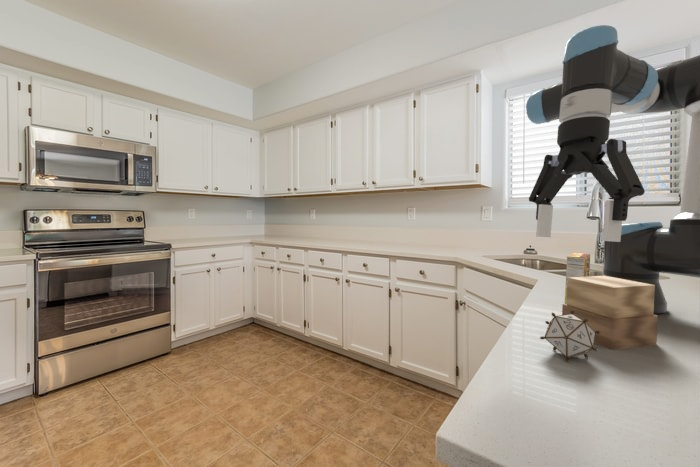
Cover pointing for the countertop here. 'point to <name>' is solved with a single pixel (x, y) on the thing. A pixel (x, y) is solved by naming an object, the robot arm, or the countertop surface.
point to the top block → (611, 296)
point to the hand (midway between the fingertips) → (573, 239)
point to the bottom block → (618, 329)
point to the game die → (570, 335)
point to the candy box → (577, 267)
